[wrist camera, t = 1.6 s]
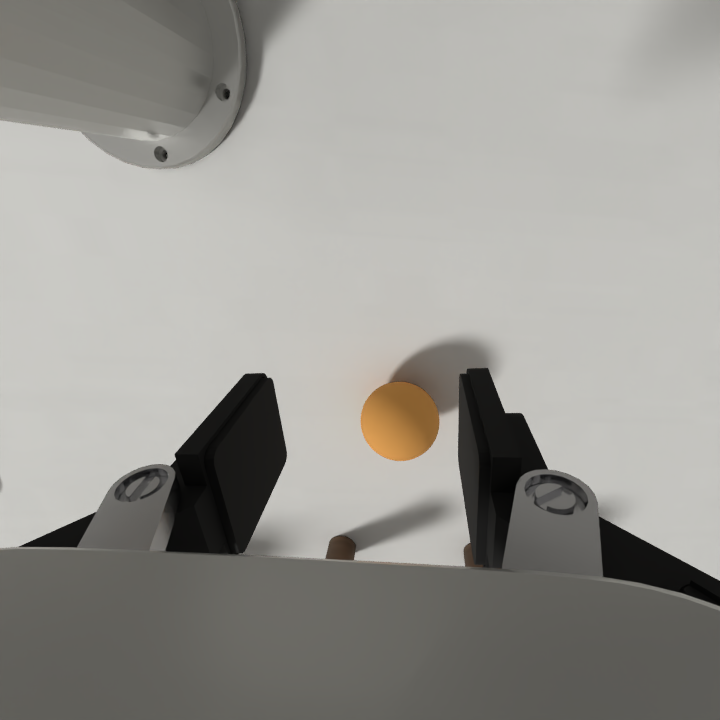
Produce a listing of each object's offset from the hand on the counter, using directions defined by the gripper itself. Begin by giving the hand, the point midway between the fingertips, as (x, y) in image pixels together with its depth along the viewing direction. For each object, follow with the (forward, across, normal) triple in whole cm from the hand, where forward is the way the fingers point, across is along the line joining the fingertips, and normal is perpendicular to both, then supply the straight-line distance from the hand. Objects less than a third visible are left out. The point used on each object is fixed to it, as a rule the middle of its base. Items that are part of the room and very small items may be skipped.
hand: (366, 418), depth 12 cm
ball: (+15, 0, +10) cm, 17 cm away
